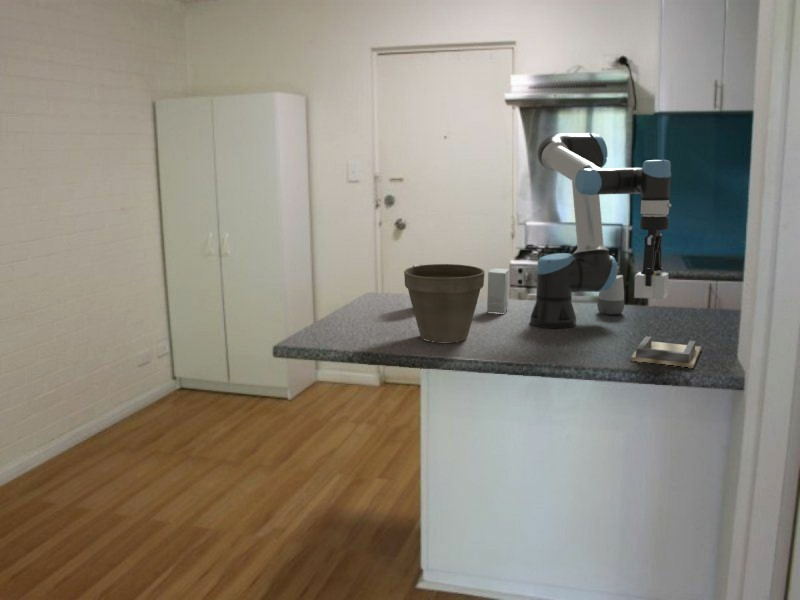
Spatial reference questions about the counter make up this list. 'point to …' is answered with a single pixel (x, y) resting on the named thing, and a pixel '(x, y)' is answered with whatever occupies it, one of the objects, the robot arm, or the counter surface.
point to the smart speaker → (612, 298)
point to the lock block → (659, 285)
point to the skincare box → (498, 290)
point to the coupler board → (669, 348)
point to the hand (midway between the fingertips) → (651, 294)
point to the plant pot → (444, 299)
